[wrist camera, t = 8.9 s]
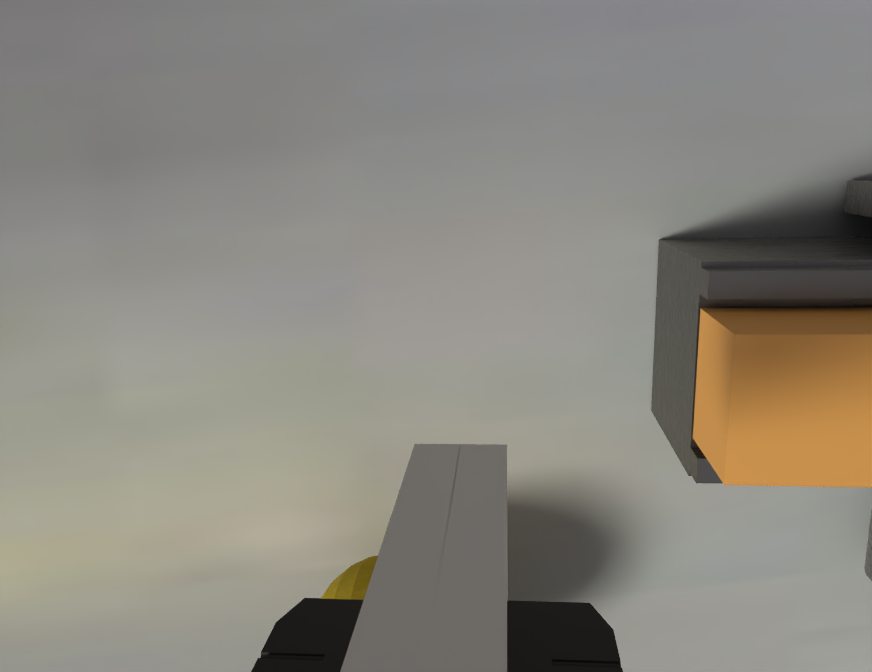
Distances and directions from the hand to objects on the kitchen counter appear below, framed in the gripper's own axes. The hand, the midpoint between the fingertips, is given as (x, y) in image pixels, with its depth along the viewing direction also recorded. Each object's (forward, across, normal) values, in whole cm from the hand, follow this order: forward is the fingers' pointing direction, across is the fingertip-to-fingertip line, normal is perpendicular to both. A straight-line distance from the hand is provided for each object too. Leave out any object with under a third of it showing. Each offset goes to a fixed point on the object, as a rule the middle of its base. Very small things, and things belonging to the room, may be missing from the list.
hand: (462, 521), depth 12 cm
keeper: (+8, -9, 0) cm, 12 cm away
